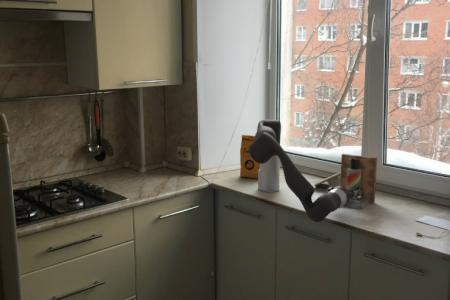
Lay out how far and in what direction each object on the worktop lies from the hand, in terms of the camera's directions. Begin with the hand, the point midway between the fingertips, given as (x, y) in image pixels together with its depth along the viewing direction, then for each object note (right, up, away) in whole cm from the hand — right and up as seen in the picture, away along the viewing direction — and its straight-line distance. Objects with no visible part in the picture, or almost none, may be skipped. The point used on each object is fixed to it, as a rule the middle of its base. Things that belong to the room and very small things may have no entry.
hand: (351, 188), depth 221 cm
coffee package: (-39, +2, +53) cm, 65 cm away
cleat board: (+2, -7, +6) cm, 9 cm away
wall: (-4, -2, +33) cm, 33 cm away
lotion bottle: (+2, -7, +6) cm, 10 cm away
